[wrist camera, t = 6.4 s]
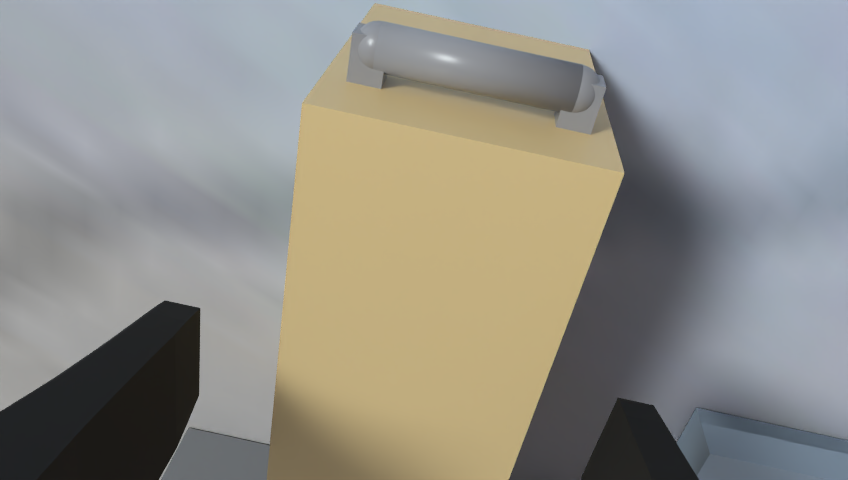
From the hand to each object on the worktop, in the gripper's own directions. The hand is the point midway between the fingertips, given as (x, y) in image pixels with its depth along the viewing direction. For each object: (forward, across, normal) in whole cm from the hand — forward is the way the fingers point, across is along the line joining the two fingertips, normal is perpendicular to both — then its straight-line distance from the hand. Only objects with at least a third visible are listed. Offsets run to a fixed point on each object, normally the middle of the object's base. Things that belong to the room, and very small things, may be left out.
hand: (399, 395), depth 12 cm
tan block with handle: (+5, 0, 0) cm, 5 cm away
